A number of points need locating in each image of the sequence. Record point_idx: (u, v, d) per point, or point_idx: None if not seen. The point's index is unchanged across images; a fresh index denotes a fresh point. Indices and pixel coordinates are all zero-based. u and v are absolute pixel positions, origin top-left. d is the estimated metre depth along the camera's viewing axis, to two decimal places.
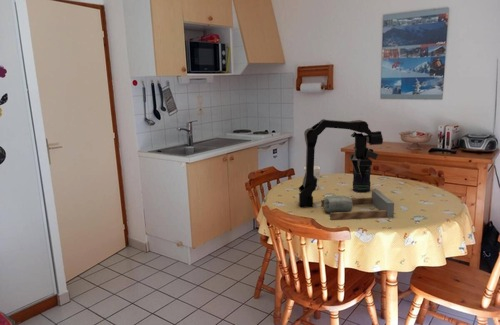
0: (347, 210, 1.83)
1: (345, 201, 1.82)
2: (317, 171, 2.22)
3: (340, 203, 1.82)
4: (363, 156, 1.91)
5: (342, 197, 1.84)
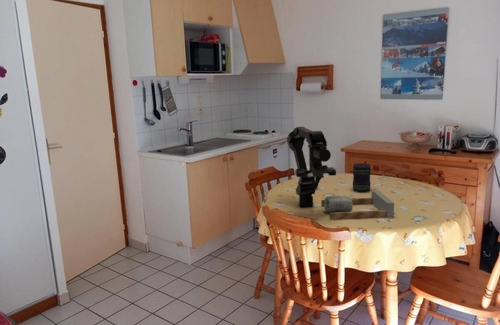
0: (347, 210, 1.83)
1: (345, 201, 1.82)
2: None
3: (340, 203, 1.82)
4: (309, 168, 1.82)
5: (342, 197, 1.84)
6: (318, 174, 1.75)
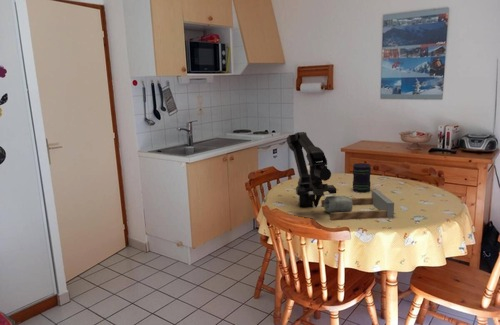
0: (347, 210, 1.83)
1: (345, 201, 1.82)
2: None
3: (340, 203, 1.82)
4: (310, 186, 1.84)
5: (342, 197, 1.84)
6: (318, 193, 1.77)
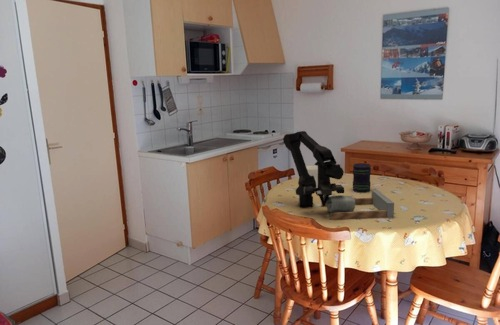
0: (350, 210, 1.83)
1: (347, 201, 1.82)
2: (317, 171, 2.22)
3: (343, 202, 1.82)
4: (318, 186, 1.84)
5: (345, 197, 1.84)
6: (326, 192, 1.77)
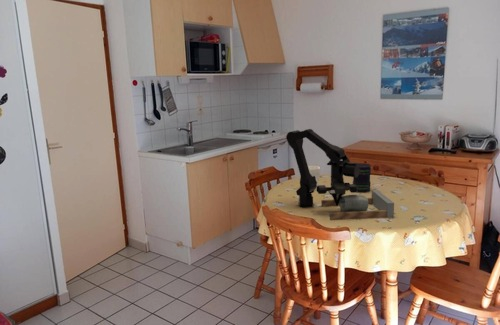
0: (363, 209, 1.83)
1: (361, 200, 1.82)
2: (317, 171, 2.22)
3: (356, 202, 1.82)
4: (331, 185, 1.84)
5: (358, 196, 1.84)
6: (340, 191, 1.77)
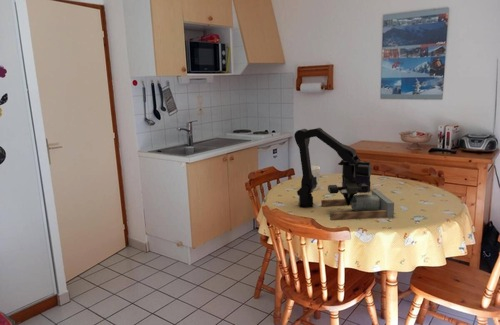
0: (374, 209, 1.83)
1: (372, 200, 1.82)
2: (317, 171, 2.22)
3: (368, 201, 1.82)
4: (343, 185, 1.84)
5: (369, 196, 1.84)
6: (352, 191, 1.77)
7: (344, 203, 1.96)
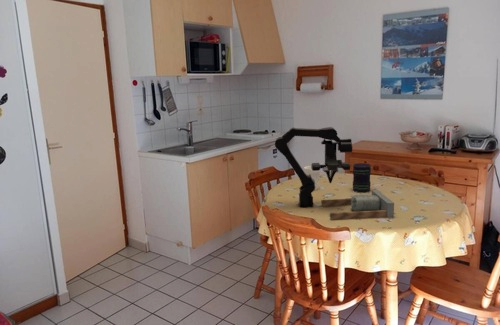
0: (374, 209, 1.83)
1: (372, 200, 1.82)
2: (317, 171, 2.22)
3: (368, 201, 1.82)
4: None
5: (369, 196, 1.84)
6: (332, 168, 1.85)
7: (344, 203, 1.96)
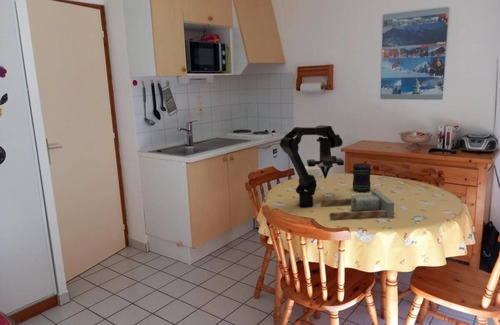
0: (374, 209, 1.83)
1: (372, 200, 1.82)
2: (317, 171, 2.22)
3: (368, 201, 1.82)
4: (320, 159, 2.01)
5: (369, 196, 1.84)
6: (328, 164, 1.95)
7: (344, 203, 1.96)
